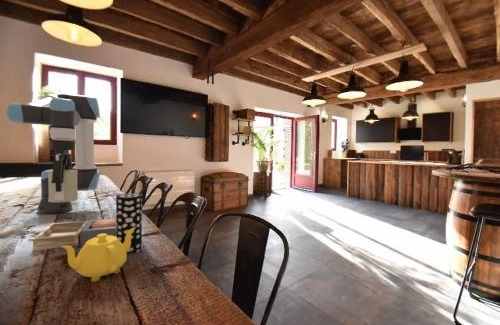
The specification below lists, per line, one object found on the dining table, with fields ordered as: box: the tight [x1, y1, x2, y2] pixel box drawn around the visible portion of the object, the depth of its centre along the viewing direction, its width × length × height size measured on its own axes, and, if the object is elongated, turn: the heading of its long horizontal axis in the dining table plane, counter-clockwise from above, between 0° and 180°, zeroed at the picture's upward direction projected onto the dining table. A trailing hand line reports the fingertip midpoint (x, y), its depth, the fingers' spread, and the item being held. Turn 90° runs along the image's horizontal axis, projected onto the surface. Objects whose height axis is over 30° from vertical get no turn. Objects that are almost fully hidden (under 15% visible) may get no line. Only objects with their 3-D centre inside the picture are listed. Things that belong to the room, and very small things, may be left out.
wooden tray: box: [32, 220, 88, 251], centre depth 93 cm, size 18×13×4 cm
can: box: [48, 169, 79, 202], centre depth 92 cm, size 9×9×12 cm
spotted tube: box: [115, 192, 143, 255], centre depth 85 cm, size 8×8×20 cm
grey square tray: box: [79, 217, 116, 245], centre depth 98 cm, size 14×14×5 cm
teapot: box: [60, 227, 136, 283], centre depth 70 cm, size 20×15×12 cm
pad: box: [92, 219, 116, 229], centre depth 98 cm, size 9×9×2 cm
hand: (63, 197), depth 92 cm, fingers closed on can, 9 cm apart
